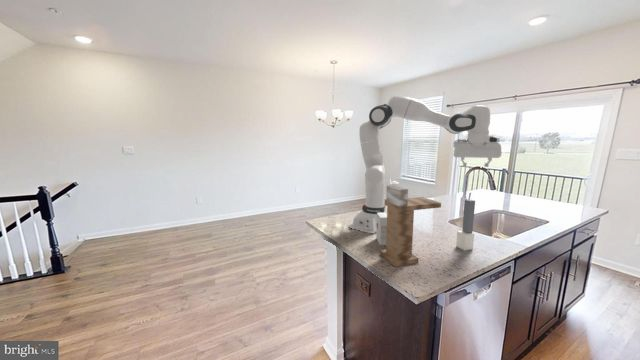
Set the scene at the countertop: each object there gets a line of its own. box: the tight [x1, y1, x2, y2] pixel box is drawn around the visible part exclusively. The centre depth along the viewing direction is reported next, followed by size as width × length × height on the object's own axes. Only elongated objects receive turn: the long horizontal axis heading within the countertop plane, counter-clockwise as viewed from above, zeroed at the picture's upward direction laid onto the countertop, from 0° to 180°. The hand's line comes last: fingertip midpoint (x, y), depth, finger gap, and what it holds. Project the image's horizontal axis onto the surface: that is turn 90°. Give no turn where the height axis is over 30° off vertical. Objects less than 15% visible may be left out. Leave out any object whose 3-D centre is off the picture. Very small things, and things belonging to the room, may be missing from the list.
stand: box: [379, 184, 442, 268], centre depth 109 cm, size 22×12×33 cm, turn 105°
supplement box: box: [376, 212, 387, 246], centre depth 127 cm, size 9×9×15 cm
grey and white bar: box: [455, 198, 476, 252], centre depth 118 cm, size 24×5×5 cm
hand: (475, 166), depth 123 cm, fingers open, 8 cm apart
